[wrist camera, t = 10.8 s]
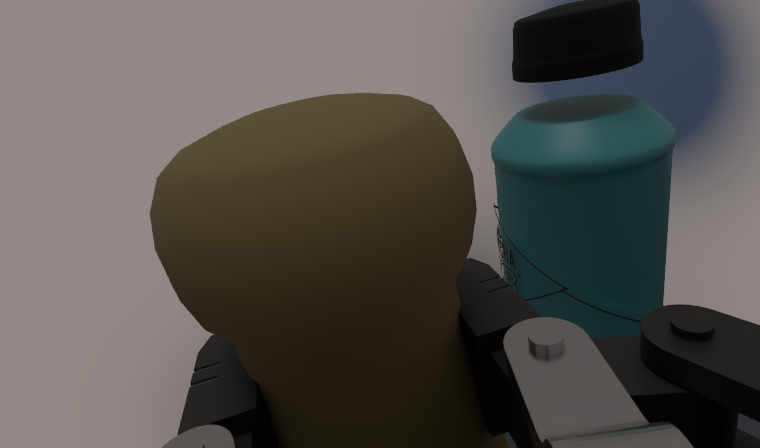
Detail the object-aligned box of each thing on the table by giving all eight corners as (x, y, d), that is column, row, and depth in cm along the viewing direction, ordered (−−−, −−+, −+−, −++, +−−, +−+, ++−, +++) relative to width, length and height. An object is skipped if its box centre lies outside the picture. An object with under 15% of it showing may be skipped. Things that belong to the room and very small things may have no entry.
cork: (273, 512, 13) (106, 139, 9) (450, 414, 15) (382, 68, 11) (345, 810, 8) (11, 224, 3) (606, 597, 10) (594, 54, 5)
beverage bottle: (605, 372, 26) (603, -8, 18) (697, 473, 20) (752, -34, 12) (498, 402, 26) (448, 27, 18) (558, 515, 20) (521, 18, 12)
